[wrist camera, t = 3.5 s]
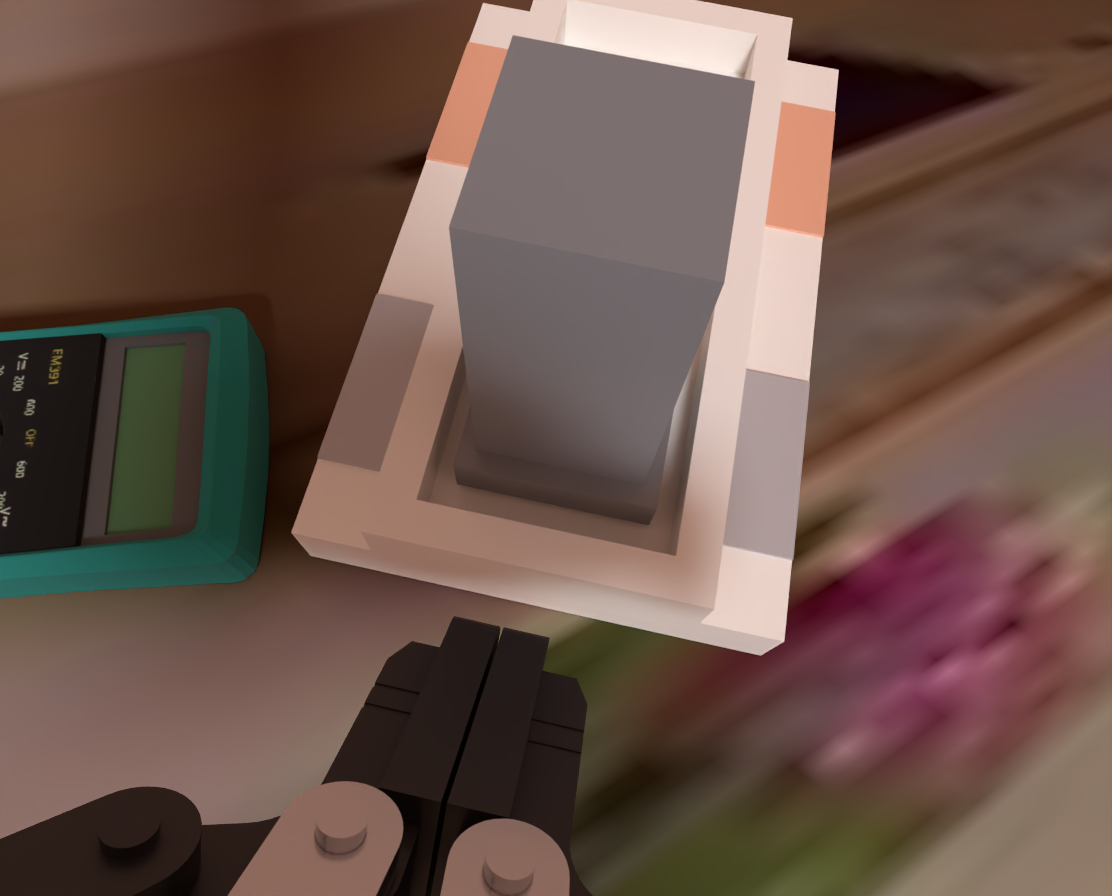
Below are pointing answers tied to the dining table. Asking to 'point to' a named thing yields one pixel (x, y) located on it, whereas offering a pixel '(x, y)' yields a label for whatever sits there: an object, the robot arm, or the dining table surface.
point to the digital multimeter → (132, 453)
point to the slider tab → (590, 269)
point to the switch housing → (701, 409)
